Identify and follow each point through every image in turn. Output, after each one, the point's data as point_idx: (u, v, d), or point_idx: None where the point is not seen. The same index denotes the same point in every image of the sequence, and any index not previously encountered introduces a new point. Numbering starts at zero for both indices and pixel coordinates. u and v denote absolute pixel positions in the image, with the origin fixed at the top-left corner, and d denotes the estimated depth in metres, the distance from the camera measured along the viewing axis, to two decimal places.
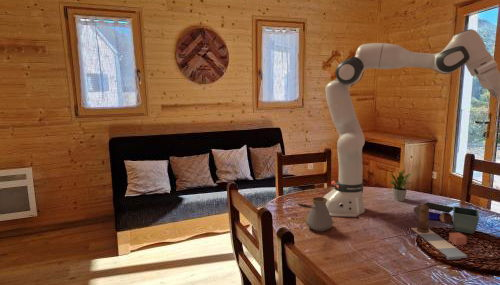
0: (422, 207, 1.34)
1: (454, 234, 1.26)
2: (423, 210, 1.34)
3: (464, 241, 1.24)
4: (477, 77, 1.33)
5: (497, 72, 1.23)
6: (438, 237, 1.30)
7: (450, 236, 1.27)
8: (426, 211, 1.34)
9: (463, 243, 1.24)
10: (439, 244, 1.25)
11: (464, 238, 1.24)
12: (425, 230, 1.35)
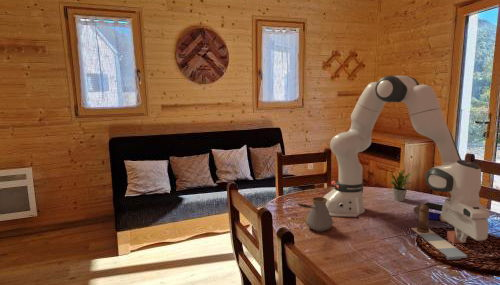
0: (422, 207, 1.34)
1: (452, 232, 1.28)
2: (423, 210, 1.34)
3: None
4: (456, 214, 1.21)
5: (487, 225, 1.13)
6: (438, 237, 1.30)
7: (448, 234, 1.29)
8: (426, 211, 1.34)
9: (460, 241, 1.26)
10: (439, 244, 1.25)
11: None
12: (425, 230, 1.35)
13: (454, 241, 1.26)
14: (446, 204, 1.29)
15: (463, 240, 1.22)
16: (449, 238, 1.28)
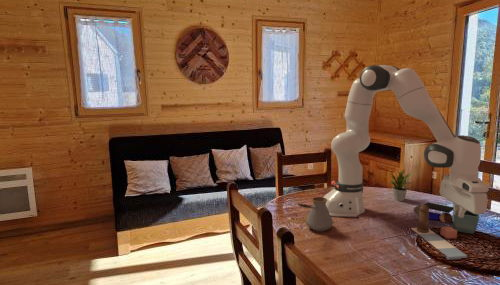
0: (422, 207, 1.34)
1: (445, 228, 1.32)
2: (423, 210, 1.34)
3: (454, 235, 1.30)
4: (455, 189, 1.22)
5: (486, 199, 1.13)
6: (438, 237, 1.30)
7: (441, 230, 1.33)
8: (426, 211, 1.34)
9: (454, 237, 1.30)
10: (439, 244, 1.25)
11: (454, 232, 1.29)
12: (425, 230, 1.35)
13: (447, 237, 1.30)
14: (445, 180, 1.29)
15: (461, 215, 1.23)
16: (442, 234, 1.32)
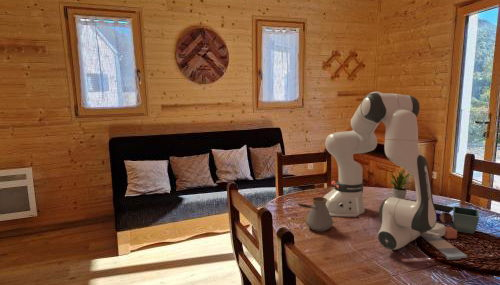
0: None
1: None
2: None
3: (454, 235, 1.30)
4: None
5: None
6: (438, 237, 1.30)
7: None
8: None
9: (454, 237, 1.30)
10: (439, 244, 1.25)
11: (454, 232, 1.29)
12: None
13: (447, 237, 1.30)
14: None
15: None
16: None
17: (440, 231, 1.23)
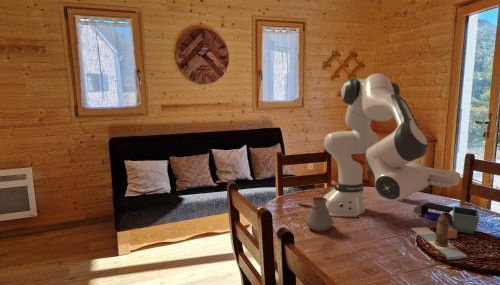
0: (441, 219, 1.23)
1: None
2: (442, 222, 1.22)
3: (454, 235, 1.30)
4: None
5: None
6: None
7: None
8: (445, 223, 1.22)
9: (453, 236, 1.30)
10: None
11: (454, 232, 1.29)
12: (444, 244, 1.23)
13: (447, 237, 1.30)
14: (441, 175, 0.99)
15: None
16: None
17: (453, 179, 0.99)
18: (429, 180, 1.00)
